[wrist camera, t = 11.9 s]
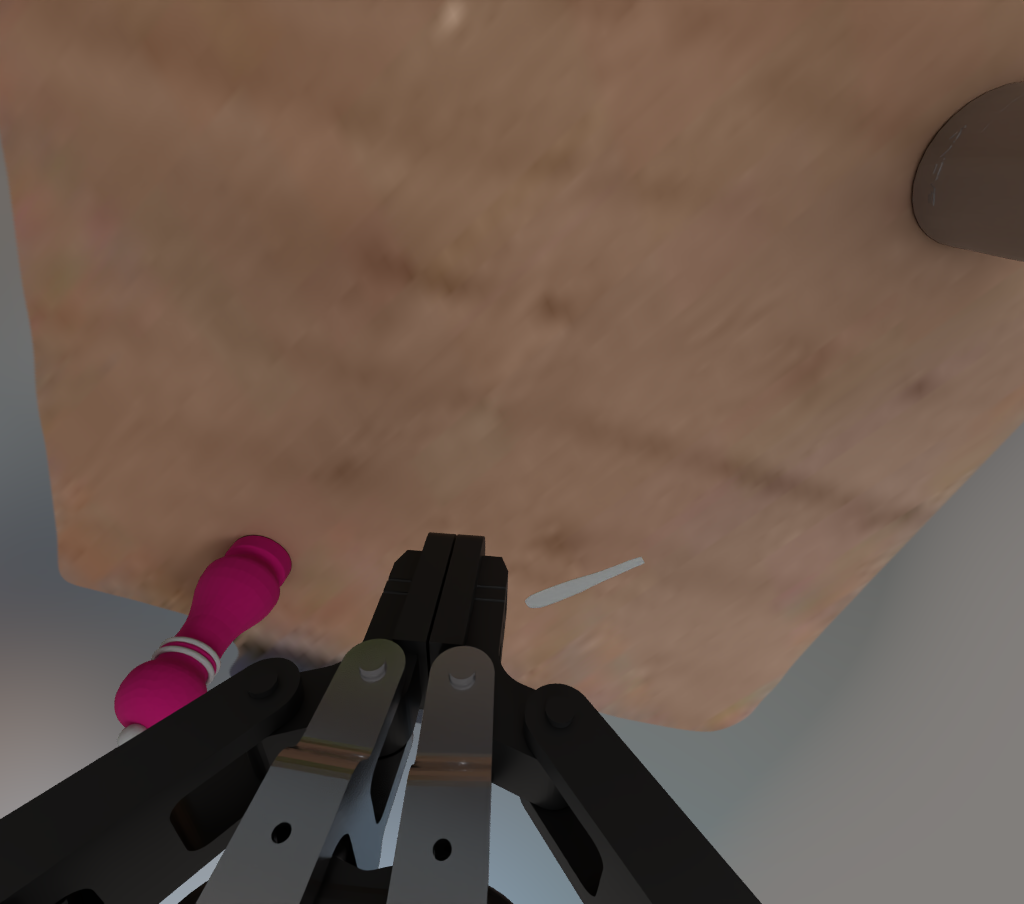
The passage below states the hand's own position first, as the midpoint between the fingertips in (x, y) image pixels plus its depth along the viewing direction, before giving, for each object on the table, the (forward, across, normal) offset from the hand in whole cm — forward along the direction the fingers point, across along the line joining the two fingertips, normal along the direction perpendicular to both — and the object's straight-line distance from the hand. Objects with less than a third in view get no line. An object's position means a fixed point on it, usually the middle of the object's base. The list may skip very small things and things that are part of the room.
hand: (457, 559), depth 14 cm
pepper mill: (+28, +26, +28) cm, 47 cm away
